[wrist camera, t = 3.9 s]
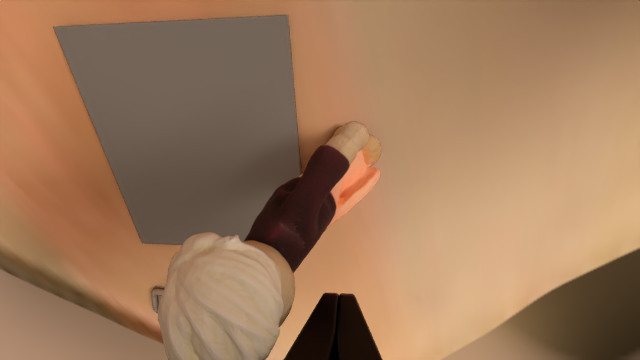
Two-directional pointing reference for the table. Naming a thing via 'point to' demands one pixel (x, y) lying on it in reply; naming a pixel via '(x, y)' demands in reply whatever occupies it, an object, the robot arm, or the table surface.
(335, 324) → the robot arm
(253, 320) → the grandmother figurine
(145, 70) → the mat
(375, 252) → the table surface
